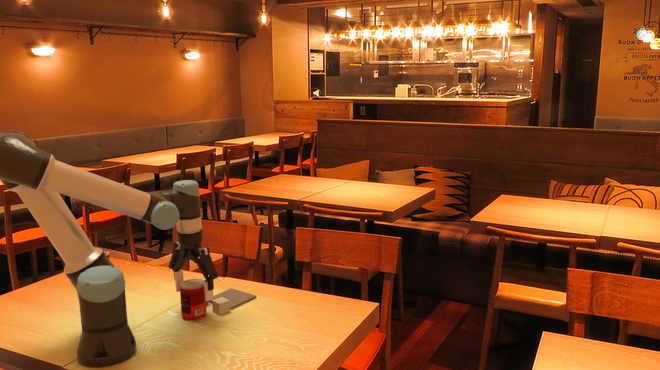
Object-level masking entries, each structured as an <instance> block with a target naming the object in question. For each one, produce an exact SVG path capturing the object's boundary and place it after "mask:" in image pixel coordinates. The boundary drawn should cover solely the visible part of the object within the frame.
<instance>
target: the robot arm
mask: <svg viewBox="0 0 660 370" xmlns="http://www.w3.org/2000/svg"><path fill="white" fill-rule="evenodd" d="M0 182H1V183H2V185H3V186H4V187H5V188H6V189H5V190H7V191H8V192H9V191H10V192H13V193H16V194H17V195H18V196H19V198H20V200H21V201H22V202H23V204H24V206H26V208H27V209H28V211H29V213H30V214H31V215H32V217H33V219H34V220H35V222H36V223H37V224H38V225H39V227H40V229H41V230H42V232H43V233H44V234H45V236H46V238H47V239H48V241H49V242H50V243H51V245H52V246H53V248H54V249H55V250H56V252H57V253H58V254H59V256H60V258H61V259H62V261H63V263H64V264H65V265H64V269H63V272H64V274H65V276H66V277H67V279H68V280H69V281H70V283H71V284H72V286H73V287H74V289H75V290H76V294H77V298H78V304H79V313H80V315H79V316H80V324H81V334H80V338H79V341H78V346H77V350H76V358H77V361H78V363H79V364H80V365H82V366H85V367H91V368H100V367H109V366H112V365H117V364H120V363H122V362H125V361H126V360H128V359H130V358H131V357H132V356H134V355H135V353H136V352H137V341H136V338H135V336H134V334H133V332H132V330H131V328H130V325H129V322H128V321H129V320H128V311H127V300H126V299H127V298H126V297H127V296H126V280H125V276H124V273H123V271H122V270H121V269H119V267H116V266H115V264H114V263H113V262H112V261H111V260H110V258H109V259H108V258H107V256H106V254H105V253H104V251H105V250H103V249H102V248H100V247H96V246H94V245H93V244H92V242H91V241H90V239H89V237H88V236H87V234H86V233H85V231H84V229H83V228H82V226H81V224H80V223H79V222H78V221H77V219H76V217H75V216H74V214H73V213H72V211H71V210H70V208H69V206H68V205H67V204H66V202H65V200H64V198H63V197H62V196H61V194H62V195H63V196H67V197H70V198H73V199H77V200H79V201H83V202H85V203H89V204H91V205H95V206H97V207H100V208H104V209H106V210H109V211H113V212H115V213H119V214H122V215H125V216H127V217H130V218H134V219H137V220H139V221H142V222H145V223H148V224H151V225H152V226H153V227H155V228H157V229H158V230H159V229H160V230H164V231H166V230H170V229H172V228H174V227H175V226H176V231H177V241H176V242H174V243H173V246H172V247H173V249H172V250H173V251H172V254H171V257H170V259H169V260H170V261H169V262H168V263H169V264H168V269H169V270H172V271H173V277H174V282H175V291H176V293H178V292H179V293H180V283H181V282H183V281H185V279H184V270H182V269H183V268H182V267H183V266H184V264H185V262H186V261H187V260H190V261H192V262H193V263H194V264H196V265H197V267H198V268H199V270H200V272H201V274H202V276H203V277H204V279H205V280H204V289H205V301H209V300H211V299H213V298H214V297H213V296H214V288H215V286H214V285H215V284H214V280H217V279H218V278H219V275H218V271H217V269H216V267H215V264H214V261H213V259H212V256H211V254H210V252H211V251H210V249H209V247H202V242H203V240H204V239H203V237H204V236H203V230H202V228H203V227H202V214H201V213H202V212H201V195H200V194H201V193H200V187H199V183H198V182H197V181H196V180H192V179H184V180H177V181H175V182H174V183H173V185H172V186H173V187H172V188H170V189H164V190H163V189H162V190H155V191H143V190H139V189H137V188H134V187H131V186H129V185H125V184H122V183H120V182H117V181H115V180H111V179H109V178H107V177H104V176H100V175H98V174H95V173H94V172H93V173H92V172H90V171H87V170H84V169H82V168H79V167H76V166H74V165H70V164H68V163H65V162H62V161H59V160H57V159H56V158H55V156H54V155H53V154H52V153H49V152H47V151H44V150H43V149H41V148H39V147H37V144H36V142H35V141H34V139H33V138H31V137H30V135H28V134H26V133H24V132H22V131H18V130H7V131H6V130H5V131H3V132H0Z"/></svg>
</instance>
